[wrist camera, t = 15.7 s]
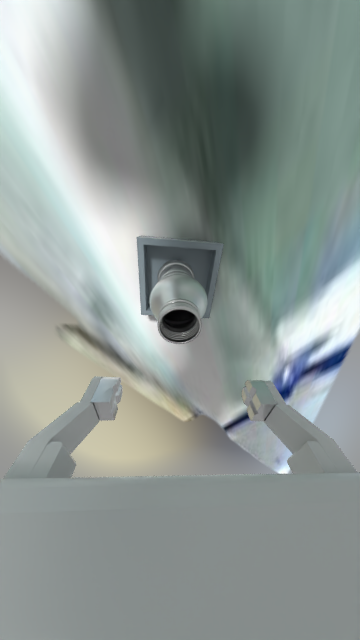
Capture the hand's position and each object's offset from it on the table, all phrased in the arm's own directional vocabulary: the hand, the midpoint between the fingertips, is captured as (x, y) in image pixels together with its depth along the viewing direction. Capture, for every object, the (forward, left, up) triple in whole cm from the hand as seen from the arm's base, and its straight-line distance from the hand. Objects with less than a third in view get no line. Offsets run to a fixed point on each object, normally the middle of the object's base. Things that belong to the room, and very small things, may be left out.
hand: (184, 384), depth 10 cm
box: (0, 0, -26) cm, 26 cm away
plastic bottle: (-1, 0, -25) cm, 25 cm away
